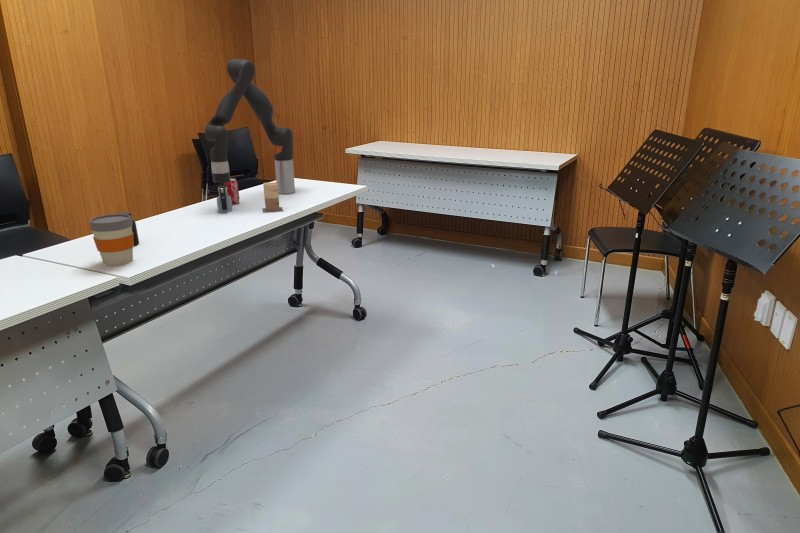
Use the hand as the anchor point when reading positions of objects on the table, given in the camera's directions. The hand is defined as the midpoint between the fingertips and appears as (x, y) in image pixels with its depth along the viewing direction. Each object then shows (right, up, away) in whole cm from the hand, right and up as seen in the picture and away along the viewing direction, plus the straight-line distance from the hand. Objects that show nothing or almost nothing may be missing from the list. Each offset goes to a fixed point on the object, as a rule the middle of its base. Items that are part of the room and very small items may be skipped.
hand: (225, 207), depth 254 cm
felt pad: (+22, -1, 0) cm, 22 cm away
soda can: (-1, +3, +13) cm, 13 cm away
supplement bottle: (-20, -19, -49) cm, 56 cm away
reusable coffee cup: (-15, -25, -67) cm, 73 cm away
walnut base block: (+22, -1, 0) cm, 22 cm away
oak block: (+22, +5, -2) cm, 22 cm away
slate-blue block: (0, -1, 0) cm, 1 cm away
